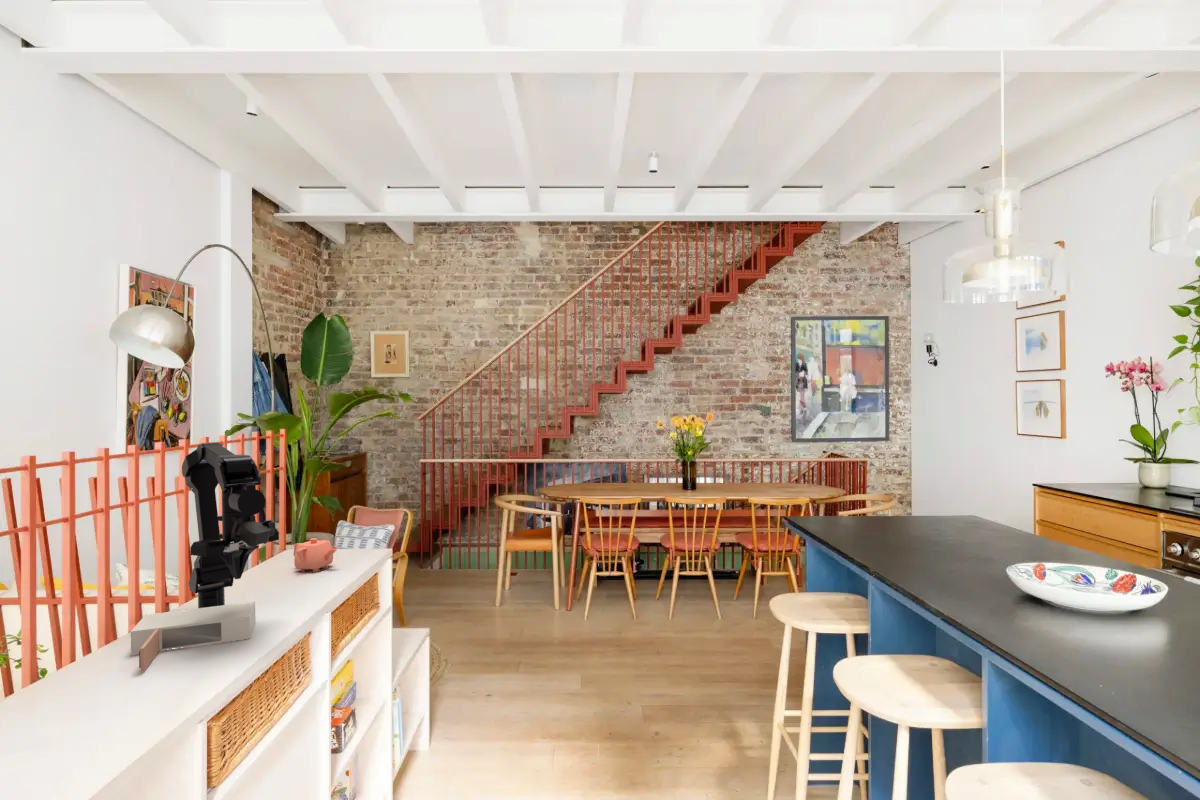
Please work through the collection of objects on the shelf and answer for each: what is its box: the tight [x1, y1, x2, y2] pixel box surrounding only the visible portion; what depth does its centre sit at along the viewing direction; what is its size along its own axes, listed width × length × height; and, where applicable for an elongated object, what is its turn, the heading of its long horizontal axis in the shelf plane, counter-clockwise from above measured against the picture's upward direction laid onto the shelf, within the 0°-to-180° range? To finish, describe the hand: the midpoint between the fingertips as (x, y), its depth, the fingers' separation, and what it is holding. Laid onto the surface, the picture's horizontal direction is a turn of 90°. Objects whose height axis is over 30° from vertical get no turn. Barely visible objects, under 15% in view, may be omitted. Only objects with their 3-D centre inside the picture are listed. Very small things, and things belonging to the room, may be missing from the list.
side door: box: [138, 629, 159, 673], centre depth 133 cm, size 1×12×4 cm, turn 22°
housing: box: [130, 601, 257, 656], centre depth 147 cm, size 12×22×5 cm, turn 112°
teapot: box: [293, 537, 338, 573], centre depth 207 cm, size 12×12×10 cm
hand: (237, 578), depth 151 cm, fingers closed
